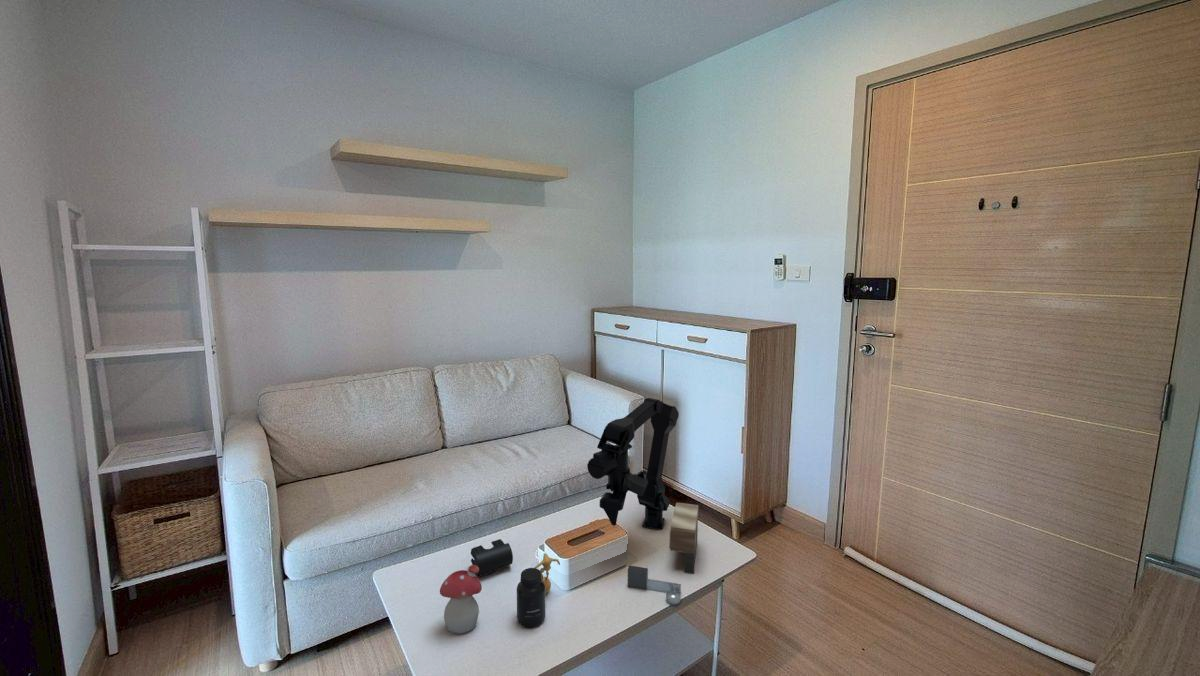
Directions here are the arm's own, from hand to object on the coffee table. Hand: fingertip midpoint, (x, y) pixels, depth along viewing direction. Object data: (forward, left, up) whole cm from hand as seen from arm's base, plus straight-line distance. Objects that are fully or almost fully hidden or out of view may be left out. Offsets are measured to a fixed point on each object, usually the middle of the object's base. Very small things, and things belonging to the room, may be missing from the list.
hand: (617, 516), depth 146 cm
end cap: (+17, -32, -11) cm, 38 cm away
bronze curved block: (-2, +19, -11) cm, 22 cm away
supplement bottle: (+32, -14, -11) cm, 37 cm away
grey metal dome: (+17, +18, -11) cm, 27 cm away
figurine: (+23, -14, -11) cm, 29 cm away
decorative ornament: (+38, -29, -11) cm, 49 cm away
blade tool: (+14, +13, -11) cm, 22 cm away
